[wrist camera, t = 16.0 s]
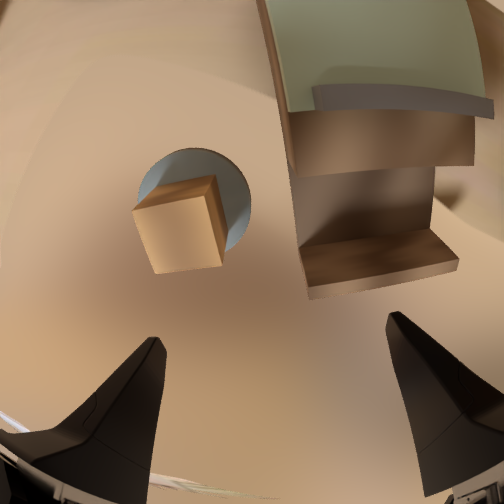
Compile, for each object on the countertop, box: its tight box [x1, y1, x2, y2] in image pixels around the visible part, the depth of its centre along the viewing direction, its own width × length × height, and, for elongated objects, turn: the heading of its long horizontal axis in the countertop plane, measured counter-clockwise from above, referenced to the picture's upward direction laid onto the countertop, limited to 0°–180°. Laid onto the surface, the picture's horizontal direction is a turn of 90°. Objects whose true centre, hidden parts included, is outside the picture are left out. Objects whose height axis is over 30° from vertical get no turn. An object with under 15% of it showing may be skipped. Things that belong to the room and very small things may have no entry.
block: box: [132, 174, 229, 274], centre depth 16 cm, size 4×4×4 cm
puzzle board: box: [256, 0, 475, 300], centre depth 13 cm, size 11×19×5 cm, turn 10°
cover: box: [265, 0, 494, 119], centre depth 7 cm, size 11×8×2 cm
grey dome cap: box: [138, 148, 251, 252], centre depth 18 cm, size 8×8×1 cm
